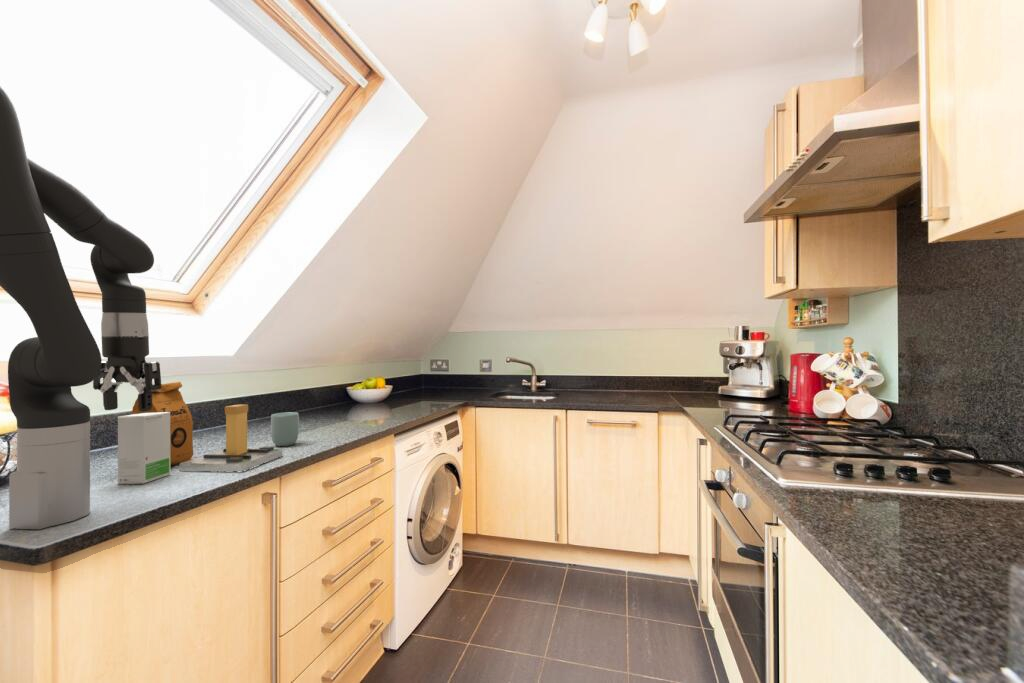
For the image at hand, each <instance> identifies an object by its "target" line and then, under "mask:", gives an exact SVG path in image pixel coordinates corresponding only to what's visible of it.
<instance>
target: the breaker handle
mask: <svg viewBox="0 0 1024 683" xmlns="http://www.w3.org/2000/svg"><path fill="white" fill-rule="evenodd" d="M248 413H249V404H233V405H226V406H224V414H225V434H226V435H225V449H226V455H239V454H242V453H245V452H247V449H248Z"/></svg>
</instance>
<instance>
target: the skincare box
mask: <svg viewBox="0 0 1024 683" xmlns="http://www.w3.org/2000/svg"><path fill="white" fill-rule="evenodd" d="M171 466H172V465H170V412H156V413H141V414H133V415H132V414H127V415H119V416H117V484H118V485H141V484H142V485H143V484H145V483H149V482H152V481H155V480H158V479H162V478H164V477H167V476H170V475H171V472H172V471H171V470H172V469H171V468H172V467H171Z"/></svg>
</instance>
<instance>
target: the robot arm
mask: <svg viewBox="0 0 1024 683" xmlns="http://www.w3.org/2000/svg"><path fill="white" fill-rule="evenodd" d="M23 138H24V137H23V133H22V129H21V125H20V121H19V117H18V113H17V111H16V108H15V106H14V104H13V102H12V100H11V99H10V97H9V96H8V94H7V92H6V91H5V90H4V88H2V86H0V287H1V288H2V290H4V291H5V292H6V293H7V294H8V295H9V296H10V297H12V298H13V300H14V301H15V302H16V303H18V305H20V308H22V309H23V311H25V313H26V315H27V316H28V317H29V320H30V321H31V323H32V326H33V328H34V332H35V334H36V336H35V337H30V338H26V339H24V340H22V341H21V342H19V343H18V344H16V345H15V346H14V348H13V349H12V351H11V352H10V355H9V359H8V363H7V380H8V396H9V398H8V400H9V406H10V410H11V413H12V414H13V416H14V417H15V418H16V470H15V471H13V472H11V473H10V474H9V476H8V477H9V478H8V479H9V480H8V481H9V482H8V483H9V484H8V485H9V487H8V488H9V494H8V496H9V498H8V501H9V502H8V503H9V504H8V505H9V506H8V507H9V508H8V509H9V510H8V516H9V517H8V529H14V528H15V529H18V530H42V529H45V528H49V527H53V526H58V525H62V524H66V523H69V522H73V521H77V520H80V519H82V518H84V517H85V516H88V515H89V514H90V512H91V409H90V407H89V406H88V405H86V404H84V403H82V402H80V401H79V400H77V399H76V398H75V396H74V394H73V393H72V387H80V386H81V387H82V386H85V385H87V384H90V383H92V388H93V390H96V391H97V390H98V391H100V393H101V394H102V404H103V407H104V408H103V409H104V410H105V411H112V410H117V409H118V406H119V405H118V404H119V402H118V401H119V399H118V391H117V390H118V388H119V387H120V386H121V384H123V383H127V384H128V383H129V384H130V386H132V387H135V389H136V390H137V392H138V394H137V398H138V407H139V411H149V410H151V408H152V393H153V392H154V391H155V390H159V389H161V387H162V386H161V384H162V378H161V377H162V376H161V364H160V361H148V362H147V361H146V357H147V356H149V355H150V342H149V341H150V340H149V338H150V337H149V335H150V334H149V322H148V321H149V320H148V317H147V298H146V297H147V296H146V295H147V294H146V291H145V290H144V288H143V287H141V286H137V285H134V284H132V282H131V280H130V277H129V274H142V273H143V274H144V273H146V272H148V271H151V269H152V268H153V266H154V263H155V257H154V253H153V252H152V250H151V248H150V247H149V245H148V244H147V243H146V242H145V241H144V240H143V239H141V238H140V237H139V236H137V235H136V234H134V233H133V232H132V231H130V230H128V229H127V228H125V227H123V226H122V225H121V224H119V223H117V222H116V221H114V220H112V219H111V218H109V217H108V215H107V214H105V213H104V212H103V211H102V209H100V208H99V207H98V206H97V205H96V204H95V203H94V202H93V201H92V200H91V199H90V198H89V197H88V196H87V195H86V194H84V193H83V192H82V191H81V190H80V189H78V188H77V187H76V186H74V185H73V184H72V183H70V182H68V181H67V180H65V179H64V178H62V177H60V176H59V175H57V174H55V173H53V172H52V171H50V170H48V169H46V168H45V167H44V166H41V165H39V164H38V163H36V162H34V161H33V160H31V159H30V158H28V157H27V153H26V148H25V142H24V139H23ZM46 217H48V218H49V219H50V220H51V221H52V222H53V223H55V224H56V225H57V226H59V228H60V229H62V230H63V231H64V232H65V233H66V234H68V235H69V236H70V237H72V238H73V239H74V240H76V241H78V242H81V243H84V244H90V245H92V246H93V247H92V249H91V251H90V252H91V253H90V255H89V256H90V259H89V260H90V265H91V267H92V271H93V274H94V277H95V280H96V283H97V285H98V287H99V290H100V292H101V312H102V315H101V316H102V317H101V322H100V325H101V326H100V329H101V330H100V332H101V351H100V349H99V345H98V344H97V341H96V339H95V338H94V335H93V334H92V331H91V330H90V327H89V326H88V324H87V322H86V320H85V318H84V315H83V314H82V311H81V309H80V308H79V307H80V306H79V305H78V302H77V301H76V298H75V295H74V293H73V290H72V287H71V285H70V282H69V279H68V277H67V275H66V272H65V269H64V266H63V264H62V260H61V256H60V254H59V251H58V247H57V245H56V242H55V238H54V236H53V233H52V230H51V228H50V226H49V223H48V221H47V218H46ZM103 357H104V358H106V359H107V360H105V361H102V358H103ZM101 379H102V383H101ZM153 381H154V382H153ZM153 383H154V384H153ZM143 385H144V386H145V387H143ZM139 393H140V394H139Z"/></svg>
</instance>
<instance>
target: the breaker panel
mask: <svg viewBox="0 0 1024 683" xmlns="http://www.w3.org/2000/svg"><path fill="white" fill-rule="evenodd" d="M281 456H282V457H283V449H282V448H275V447H274V446H262V447H258V448H247V452H245V453H242V454H239V455H226V448H223V449H222V450H218V451H215V452H212V453H209V454H203V455H202V456H199V457H196V458H191V460H188V461H184V462H181V463H179V472H198V471H211V472H210V473H228V472H227V471H244V470H247V469H249V468H252V467H254V466H257V465H260V464H262V465H264V464H263V463H265V464H267V463H269V461H270V462H272V461H274V460H273V459H275V460H277V459H279V458H278V457H280V458H282V457H281ZM276 458H277V459H276ZM271 460H272V461H271ZM266 462H267V463H266ZM260 466H261V465H260ZM257 467H258V466H257ZM254 468H255V467H254ZM252 469H253V468H252ZM249 470H250V469H249ZM217 471H218V472H217ZM224 471H225V472H224ZM247 471H248V470H247ZM244 472H245V471H244Z"/></svg>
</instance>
